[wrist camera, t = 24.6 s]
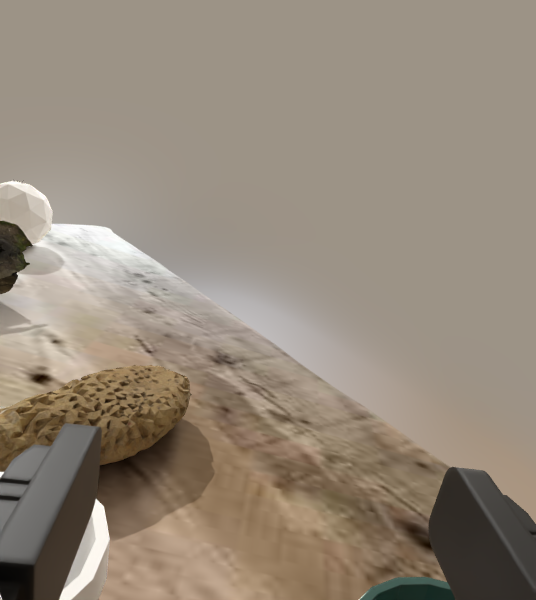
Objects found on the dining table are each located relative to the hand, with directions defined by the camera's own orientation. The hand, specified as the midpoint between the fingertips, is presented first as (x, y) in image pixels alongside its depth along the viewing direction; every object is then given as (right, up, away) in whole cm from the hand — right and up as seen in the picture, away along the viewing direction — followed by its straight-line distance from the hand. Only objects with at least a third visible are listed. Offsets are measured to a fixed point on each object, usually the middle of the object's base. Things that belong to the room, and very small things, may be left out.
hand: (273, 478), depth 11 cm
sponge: (-17, -10, +38) cm, 43 cm away
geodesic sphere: (-55, +16, +96) cm, 112 cm away
